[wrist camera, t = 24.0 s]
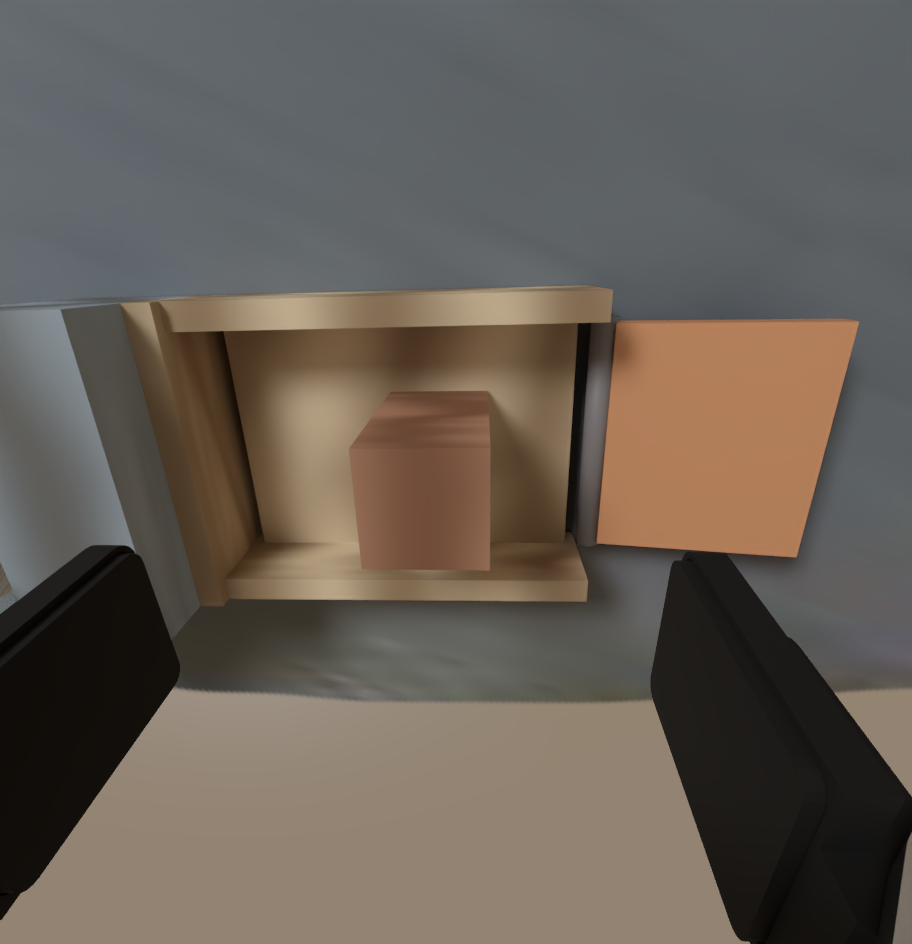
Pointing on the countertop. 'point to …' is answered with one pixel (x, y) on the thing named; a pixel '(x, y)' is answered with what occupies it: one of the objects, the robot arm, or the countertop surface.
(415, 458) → the block
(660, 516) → the panel
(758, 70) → the countertop surface
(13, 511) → the truck bed
